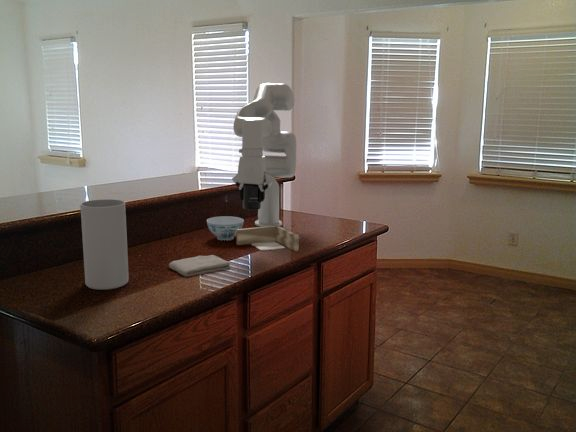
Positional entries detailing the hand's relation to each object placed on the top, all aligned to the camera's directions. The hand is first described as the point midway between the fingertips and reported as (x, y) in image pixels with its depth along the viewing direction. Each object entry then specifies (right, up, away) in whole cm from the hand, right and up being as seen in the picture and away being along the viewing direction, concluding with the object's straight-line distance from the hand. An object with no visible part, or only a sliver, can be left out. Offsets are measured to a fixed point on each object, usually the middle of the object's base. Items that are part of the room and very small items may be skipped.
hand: (252, 200), depth 198 cm
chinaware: (-12, -15, +18) cm, 27 cm away
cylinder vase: (-42, -27, -37) cm, 62 cm away
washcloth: (-16, -24, -20) cm, 35 cm away
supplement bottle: (0, -3, +1) cm, 3 cm away
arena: (+5, -18, +6) cm, 20 cm away
